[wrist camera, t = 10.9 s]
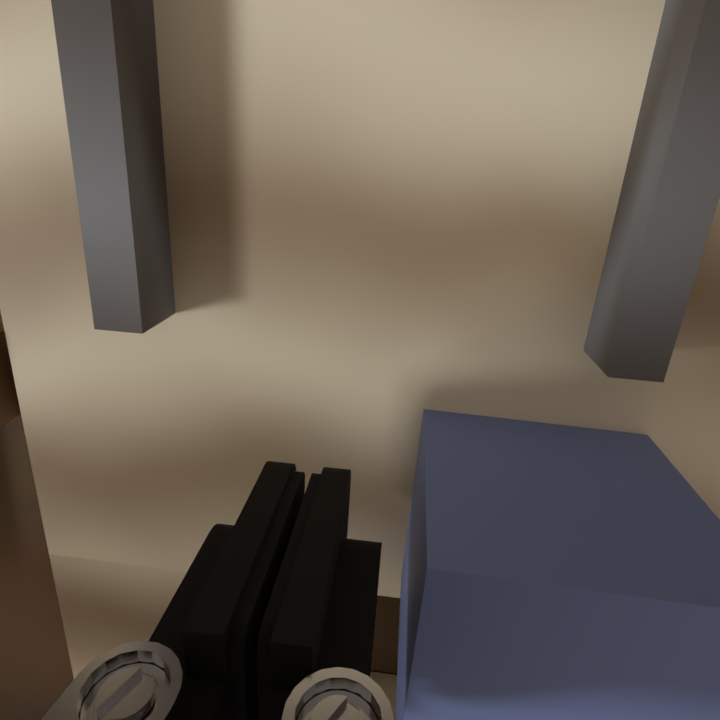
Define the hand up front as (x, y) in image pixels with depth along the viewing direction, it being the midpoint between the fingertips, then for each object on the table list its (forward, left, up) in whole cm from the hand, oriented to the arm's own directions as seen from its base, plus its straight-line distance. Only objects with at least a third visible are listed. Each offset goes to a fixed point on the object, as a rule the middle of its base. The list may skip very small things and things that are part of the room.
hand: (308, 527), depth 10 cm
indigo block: (-1, -5, -3) cm, 5 cm away
